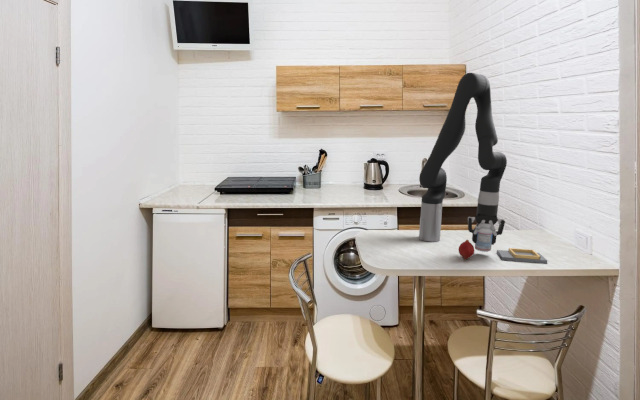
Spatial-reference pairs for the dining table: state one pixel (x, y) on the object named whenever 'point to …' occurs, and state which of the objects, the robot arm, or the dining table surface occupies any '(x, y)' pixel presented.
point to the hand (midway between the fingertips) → (483, 243)
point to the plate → (521, 255)
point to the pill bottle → (484, 238)
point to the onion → (466, 249)
